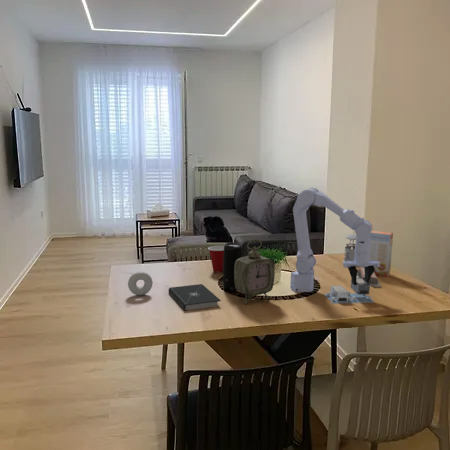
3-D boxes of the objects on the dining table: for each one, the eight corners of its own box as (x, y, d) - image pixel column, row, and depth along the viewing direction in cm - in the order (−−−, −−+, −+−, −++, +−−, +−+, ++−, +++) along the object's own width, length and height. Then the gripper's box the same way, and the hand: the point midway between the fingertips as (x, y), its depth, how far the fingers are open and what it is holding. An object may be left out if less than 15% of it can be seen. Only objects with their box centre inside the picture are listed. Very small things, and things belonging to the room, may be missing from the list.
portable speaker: (229, 292, 199) (229, 247, 196) (218, 286, 207) (219, 242, 204) (246, 290, 203) (247, 245, 199) (236, 283, 211) (236, 241, 208)
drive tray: (333, 306, 185) (333, 299, 185) (323, 296, 196) (324, 290, 196) (374, 305, 188) (375, 298, 187) (363, 295, 198) (363, 289, 198)
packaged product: (354, 265, 228) (375, 266, 227) (353, 275, 229) (375, 276, 228) (358, 276, 211) (381, 277, 209) (357, 286, 212) (380, 288, 210)
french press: (342, 264, 246) (345, 217, 241) (341, 259, 257) (344, 213, 253) (362, 265, 244) (365, 218, 240) (359, 260, 256) (363, 214, 251)
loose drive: (358, 294, 187) (359, 285, 186) (350, 287, 195) (351, 278, 194) (369, 294, 188) (370, 284, 187) (361, 287, 196) (361, 277, 195)
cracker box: (390, 274, 230) (393, 232, 226) (387, 277, 225) (390, 234, 221) (361, 270, 237) (364, 229, 233) (357, 272, 232) (360, 230, 228)
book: (168, 294, 198) (168, 287, 197) (201, 290, 203) (202, 283, 203) (184, 312, 178) (184, 304, 177) (220, 307, 184) (220, 300, 183)
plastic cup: (216, 266, 239) (216, 243, 236) (234, 270, 232) (234, 246, 230) (203, 271, 230) (203, 247, 228) (221, 275, 224) (221, 250, 221)
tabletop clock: (243, 306, 184) (245, 243, 179) (231, 299, 191) (232, 238, 187) (273, 300, 191) (275, 239, 187) (260, 293, 199) (262, 235, 194)
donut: (152, 292, 197) (151, 269, 196) (153, 295, 194) (153, 272, 192) (127, 294, 195) (127, 271, 193) (128, 297, 191) (127, 273, 190)
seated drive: (337, 302, 187) (337, 292, 186) (330, 295, 195) (330, 285, 194) (348, 301, 187) (348, 291, 187) (340, 294, 195) (341, 285, 194)
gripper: (348, 254, 184) (346, 287, 186) (384, 253, 186) (381, 286, 188) (342, 249, 191) (340, 282, 193) (376, 249, 192) (373, 281, 195)
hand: (360, 284), depth 191 cm, fingers closed on loose drive, 4 cm apart
